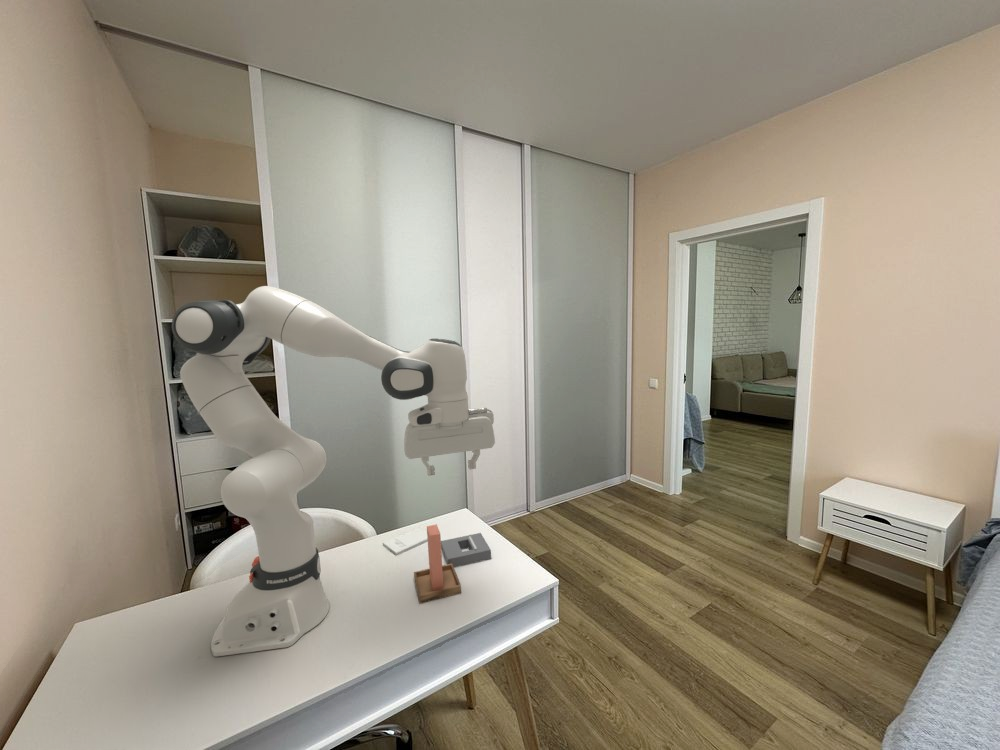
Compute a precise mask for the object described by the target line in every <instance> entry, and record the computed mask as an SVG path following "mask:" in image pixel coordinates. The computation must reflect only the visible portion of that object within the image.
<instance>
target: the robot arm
mask: <svg viewBox="0 0 1000 750" xmlns="http://www.w3.org/2000/svg"><path fill="white" fill-rule="evenodd" d="M171 332H172V335H173V337H174V339H175V340H176V341H177V343H179V344H180V345H181V346H182V347H183V348H185V349H187V350H189V351H191V352H193V353H196V354H195V355H194V356H192V357H191V358H189V359H188V360H186V361H185V362H184V363H183V365H182V366H181V368H180V371H179V376H180V380H181V382H182V385H183V386H184V389H185V391H186V394H187V395H188V398H189V399H190V401H191V403H192V404H193V406H194V408H195V409H196V412H198V413H199V415H200V416H201V417H202V419H203V421H204V422H205V423H206V425H207V426H208V428H209V429H210V430H211V432H212V433H213V434H214V436H215V437H216V439H217V440H218V442H220V443H221V444H222V445H223V446H226V447H229V448H233V449H237V450H240V451H242V452H244V453H246V454H247V455H249V456H250V457H252V458H250V459H248V460H246V461H244V462H243V463H241V464H240V465H238V466H237V467H236V468H235V469H233V470H232V471H231V472H229V474H227V475H226V476H225V477H224V479H223V481H221V482H222V483H221V486H220V497H221V501H222V503H223V504H224V507H225V508H226V509H227V510H228V511H229V512H230V513H232V514H233V515H235V516H237V517H240V518H244V519H246V520H247V522H248V523H249V524H250V527H252V530H253V531H254V535H255V539H256V545H257V553H258V556H256V557H255V558H254V559H253V561H252V564H251V566H252V567H251V569H250V571H249V576H248V578H249V582H248V583H247V584H245V586H243V588H242V589H240V590H239V591H238V592H237V593H236V594H234V595H235V596H234V597H233V598H232V599H231V600H230V602H229V604H228V606H227V608H226V610H225V613H224V617H223V619H222V620H221V621H220V623H219V625H218V626H217V628H216V629H215V631H214V633H213V635H212V638H211V642H210V644H211V645H210V647H211V648H210V649H211V650H210V651H211V654H212V655H213V656H214V657H224V656H231V655H237V654H246V653H254V652H260V651H268V650H275V649H284V648H288V647H291V646H292V645H294V644H295V643H296V642H298V640H300V638H301V637H302V636H303V635H305V634H306V633H308V632H309V631H311V630H313V629H314V628H315V627H316V626H318V625H319V624H320V623H322V621H323V620H324V619H325V618H326V616H327V614H328V612H329V610H330V602H329V601H328V599H327V596H326V593H325V590H324V587H323V585H322V581H321V580H322V579H321V571H322V569H321V557H320V555H319V549H318V547H317V546H316V536H315V526H314V520H313V517H312V516H311V514H309V513H307V512H306V511H302V510H300V507H299V505H298V502H297V496H298V493H299V492H300V491H302V490H304V489H305V488H307V486H309V485H311V484H313V482H314V481H315V480H316V479H317V478H318V477H319V476H320V475H321V474H322V472H323V470H324V469H325V468H326V465H327V461H328V458H327V453H326V451H325V449H324V447H323V446H322V444H321V443H319V442H318V441H316V440H314V439H310V438H307V437H305V436H303V435H301V434H299V433H297V432H296V431H295V430H293V429H292V428H291V427H290V426H288V425H287V424H285V423H284V422H283V421H282V420H281V419H279V418H278V416H276V414H275V413H274V412H273V411H272V410H271V408H270V406H268V405H267V403H266V401H265V400H264V399H263V398H262V396H261V395H260V393H259V392H258V391H257V390H256V387H255V386H254V385H253V384H252V383H251V381H250V379H249V378H248V377H247V375H246V374H245V372H244V370H243V365H245V366H247V365H249V364H251V363H253V361H254V360H255V359H256V357H257V356H258V355H259V354H261V353H262V352H263V351H265V350H266V348H267V347H268V346H269V344H270V342H271V340H272V341H275V342H278V343H279V344H281V345H283V346H285V347H287V348H290V349H291V350H294V351H296V352H298V353H302V354H305V355H309V356H313V357H319V358H348V359H353V360H357V361H359V362H362V363H364V364H367V365H368V366H371V367H373V368H376V369H377V370H380V371H381V378H380V379H381V385H382V387H383V389H384V391H385V392H386V393H387V394H388V395H389V396H390V397H392V398H394V399H396V400H399V401H407V400H412V399H415V398H419V397H423V396H426V397H427V404H425V405H422V406H420V407H418V408H416V409H412V410H410V411H409V412H408V414H407V418H408V422H409V423H408V424H407V425H406V427H405V430H404V440H403V444H404V445H403V448H404V456H405V457H406V458H408V459H410V460H413V459H419V458H420V460H421V462H422V463H423V464H424V466H425V467H426V473H427V475H428V476H429V477H431V476H435V474H436V472H435V470H436V469H435V465H433V464H432V465H430V464H429V463H428V462H429V461H430V457H436V456H442V455H449V454H456V453H457V454H458V453H463V452H470V451H471V452H472V453H473V455H472V457H471V459H468V460H467V463H468V464H467V468H468V469H469V470H474V469H475V470H476V469H477V461H478V459H479V457H480V456H481V450H486V449H487V450H488V449H492V448H493V447H494V445H495V444H496V440H495V432H494V428H493V427H494V426H493V424H494V422H495V420H494V419H495V418H494V413H493V411H492V410H491V409H488V408H487V407H481V408H469V396H468V393H467V389H466V384H467V383H466V382H467V379H468V373H467V363H466V362H467V361H466V356H465V350H464V349H463V346H462V345H461V343H458V342H457V341H455V340H451V339H447V338H446V339H443V338H430V339H428V340H427V341H426V342H425V343H424V344H422V345H421V346H419V347H418V348H415V349H413V350H410V351H409V350H408V351H407V350H406V351H405V350H401V349H398V348H396V347H393V346H392V345H390V344H387V343H385V342H382V340H379V339H377V338H375V337H372V336H371V335H368V334H366V333H364V332H363V331H361V330H359V329H357V328H355V327H354V326H353V325H351V324H350V323H348V322H346V321H344V320H343V319H342V318H340V317H338V316H337V315H336V314H334V313H332V312H331V311H329V310H327V309H326V308H325V307H323V306H321V305H319V304H317V303H315V302H314V301H311V300H310V299H308V298H305V297H303V296H300V295H299V294H295V293H294V292H290V291H287V290H284V289H282V288H279V287H274V286H271V285H262V286H258V287H256V288H255V289H253V290H252V291H251V292H249V294H248V295H247V296H246V298H245V300H244V301H243V302H242V303H241V302H240V303H235V302H233V300H230V299H221V300H220V299H219V300H218V299H217V300H198V301H197V300H196V301H191V302H188V303H185V304H184V305H182V306H181V307H179V309H177V311H176V312H175V313H174V315H173V318H172V320H171Z"/></svg>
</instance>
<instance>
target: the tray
mask: <svg viewBox="0 0 1000 750" xmlns="http://www.w3.org/2000/svg"><path fill="white" fill-rule="evenodd" d="M442 570H443V587H444V588H442V589H438V590H434V591H433V588H432V584H431V580H430V569H429V568H426V569H422V570H417V571H414V572H413V578H414V584H415V589H416V593H417V598H418V602H419V604H422V603H426V602H430V601H434V600H438V599H442V598H445V597H449V596H455V595H458V594H462V586H461V583H460V580H459V578H458V574H457V572H456V570H455V567H453V564H444V565H443V564H442Z"/></svg>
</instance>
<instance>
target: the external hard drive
mask: <svg viewBox="0 0 1000 750" xmlns="http://www.w3.org/2000/svg"><path fill="white" fill-rule="evenodd" d="M425 543H428V538H427V530H424V529H422V528H420V527H416V528H413V529H412V530H410V531H407V532H404V533H403V534H401V535H398V536H396V537H393V538H391V539H388V540H387V541H384V542H382V546H383V547H384V548H386V549H387V550H389V551H390V553H392V554H393V555H394V556H396V557H397V556H399V555H401V554H403V553H405V552H408V551H410V550H412V549H415V548H416V547H419V546H420V545H423V544H425Z"/></svg>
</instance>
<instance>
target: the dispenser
mask: <svg viewBox="0 0 1000 750" xmlns="http://www.w3.org/2000/svg"><path fill="white" fill-rule="evenodd" d="M464 549H468V550H464ZM441 553H442V555H443V558H444V561H445V563H446V564H445V565H447V564H453V567H454V568H456V567H457V568H458V567H461V566H465V565H470V564H474V563H478V562H483V561H486V560H490V559H492V550H491V548H490V546H489V545H488V543H487V541H486V540H485V537H484V536H483V534H482V533H481V532H478V533H474V534H469V535H464V536H458V537H454V538H449V539H445V540H444V539H443V540H441Z"/></svg>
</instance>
